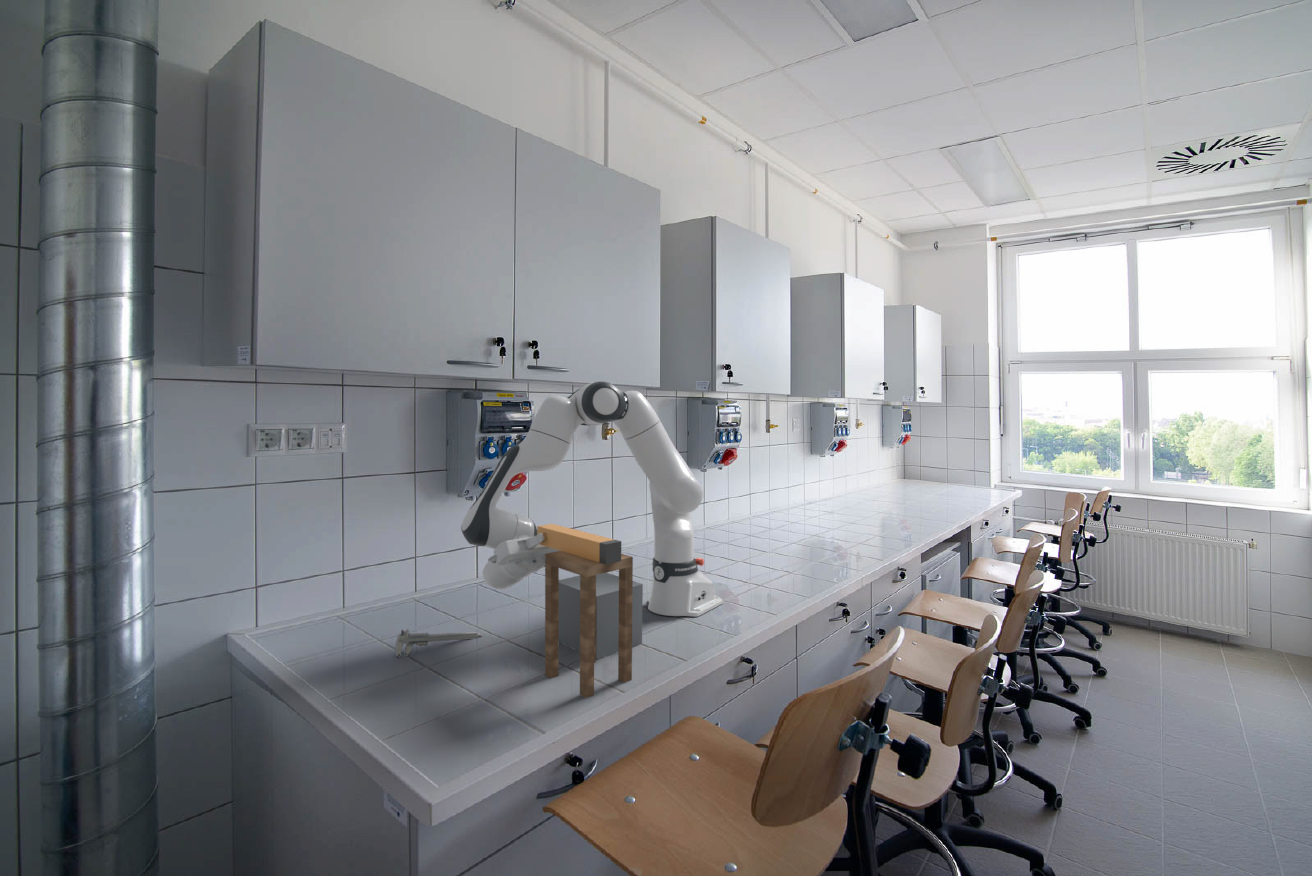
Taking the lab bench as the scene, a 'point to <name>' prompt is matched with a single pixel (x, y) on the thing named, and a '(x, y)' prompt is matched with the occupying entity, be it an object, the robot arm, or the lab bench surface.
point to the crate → (598, 613)
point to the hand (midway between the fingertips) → (554, 534)
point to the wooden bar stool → (587, 614)
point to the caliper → (428, 639)
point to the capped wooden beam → (581, 543)
